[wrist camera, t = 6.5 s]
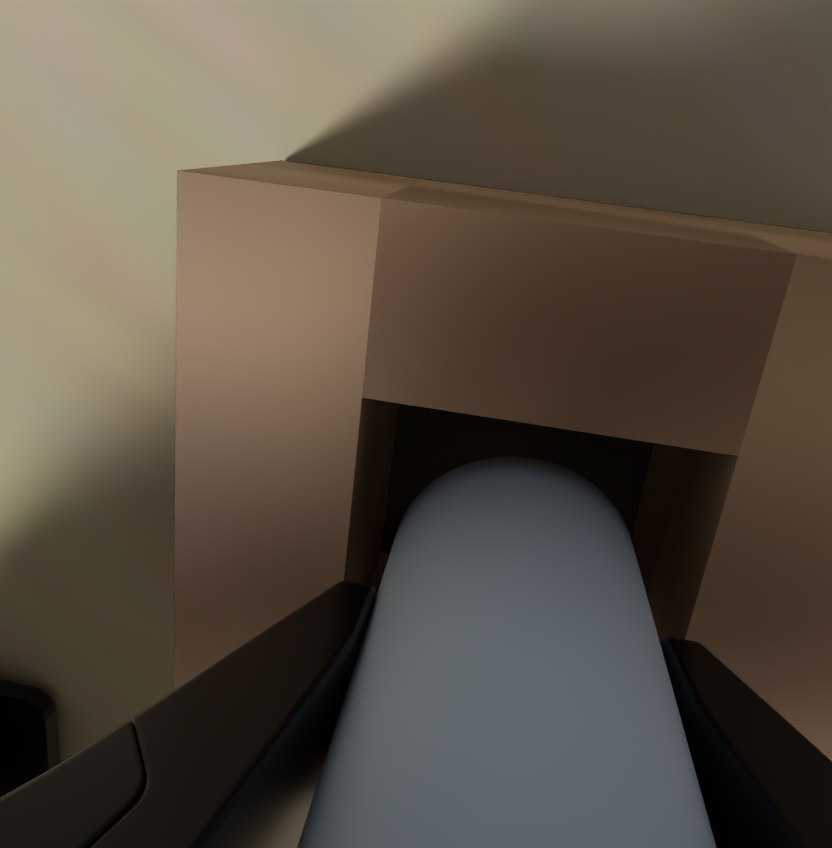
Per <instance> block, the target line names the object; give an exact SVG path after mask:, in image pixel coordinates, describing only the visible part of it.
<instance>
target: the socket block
mask: <svg viewBox="0 0 832 848" xmlns="http://www.w3.org/2000/svg"><path fill="white" fill-rule="evenodd" d="M398 403H400V404H406V405H412V406H419V407H425V408H432V409H438V410H445V411H451V412H457V413H464V414H470V415H477V416H483V417H490V418H496V419H502V420H509V421H515V422H522V423H528V424H535V425H541V426H548V427H554V428H560V429H567V430H573V431H580V432H586V433H593V434H599V435H605V436H612V437H618V438H625V439H631V440H638V441H644V442H650V443H654V447H653V451H652V455H651V459H650V463H649V467H648V471H647V475H646V479H645V484H644V488H643V492H642V496H641V500H640V504H639V508H638V512H637V516H636V520H635V524H634V528H633V532H632V536H631V540H632V544H633V547H634V551H635V554H636V558H637V562H638V565H639V569H640V572H641V576H642V580H643V583H644V587H645V590H646V594H647V598H648V601H649V605H650V609H651V612H652V616H653V619H654V623H655V627H656V630H657V634H658V638H659V641H660V640H661V639H662V638H664V637H673V638H679V639H685V640H691V641H696V642H699V643H701V644H702V645H703V646H704V647H705V648H707V649H708V650H709V651H710V652H711V653H712V654H713V655H714V656H715V657H717V658H718V659H719V660H720V661H721V662H722V663H723V664H724V665H726V666H727V667H728V668H729V669H730V670H731V671H732V672H733V673H734V674H736V675H737V676H738V677H739V678H740V679H741V680H742V681H743V682H744V683H746V684H747V685H748V686H749V687H750V688H751V689H752V690H753V691H754V692H756V693H757V694H758V695H759V696H760V697H761V698H762V699H763V700H765V701H766V702H767V703H768V704H769V705H770V706H771V707H772V708H773V709H775V710H776V711H777V712H778V713H779V714H780V715H781V716H782V717H783V718H785V719H786V720H787V721H788V722H789V723H790V724H791V725H792V726H793V727H795V728H796V729H797V730H798V731H799V732H800V733H801V734H802V735H803V736H805V737H806V738H807V739H808V740H809V741H810V742H811V743H812V744H814V745H815V746H816V747H817V748H818V749H819V750H820V751H821V752H822V753H824V754H825V755H826V756H827V757H828V758H829V759H830V760H831V761H832V233H825V232H818V231H810V230H803V229H795V228H788V227H780V226H773V225H765V224H757V223H750V222H742V221H735V220H727V219H720V218H712V217H705V216H697V215H689V214H682V213H674V212H667V211H659V210H652V209H644V208H637V207H629V206H621V205H614V204H606V203H599V202H591V201H584V200H576V199H569V198H561V197H553V196H546V195H538V194H531V193H523V192H516V191H508V190H501V189H493V188H485V187H478V186H470V185H463V184H455V183H448V182H440V181H433V180H425V179H417V178H410V177H402V176H395V175H387V174H380V173H372V172H365V171H357V170H349V169H342V168H334V167H327V166H319V165H312V164H304V163H297V162H289V161H271V162H261V163H251V164H241V165H230V166H220V167H210V168H200V169H189V170H179V171H177V279H176V420H175V562H174V690H175V689H177V688H178V687H180V686H181V685H183V684H184V683H186V682H187V681H189V680H190V679H192V678H193V677H195V676H196V675H198V674H199V673H201V672H202V671H204V670H205V669H207V668H209V667H210V666H212V665H213V664H215V663H216V662H218V661H219V660H221V659H222V658H224V657H225V656H227V655H228V654H230V653H231V652H233V651H234V650H236V649H237V648H239V647H240V646H242V645H244V644H245V643H247V642H248V641H250V640H251V639H253V638H254V637H256V636H257V635H259V634H260V633H262V632H263V631H265V630H266V629H268V628H269V627H271V626H272V625H274V624H275V623H277V622H279V621H280V620H282V619H283V618H285V617H286V616H288V615H289V614H291V613H292V612H294V611H295V610H297V609H298V608H300V607H301V606H303V605H304V604H306V603H307V602H309V601H311V600H312V599H314V598H315V597H317V596H318V595H320V594H321V593H323V592H324V591H326V590H327V589H329V588H330V587H332V586H333V585H335V584H336V583H338V582H340V581H349V582H355V583H361V584H367V585H371V586H373V587H374V588H375V591H376V596H377V593H378V590H379V587H380V583H381V580H382V577H383V574H384V571H385V568H386V564H387V561H388V558H389V555H390V553H386V552H381V549H382V540H383V532H384V523H385V515H386V506H387V498H388V489H389V480H390V472H391V463H392V455H393V446H394V438H395V429H396V421H397V412H398Z"/></svg>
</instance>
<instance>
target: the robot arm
mask: <svg viewBox="0 0 832 848" xmlns="http://www.w3.org/2000/svg"><path fill="white" fill-rule="evenodd" d="M375 600H376V591H375V588H374V587H373V586H371V585H367V584H361V583H355V582H349V581H340V582H338V583H336V584H335V585H333V586H332V587H330V588H329V589H327V590H326V591H324V592H323V593H321V594H320V595H318V596H317V597H315V598H314V599H312V600H311V601H309V602H307V603H306V604H304V605H303V606H301V607H300V608H298V609H297V610H295V611H294V612H292V613H291V614H289V615H288V616H286V617H285V618H283V619H282V620H280V621H279V622H277V623H275V624H274V625H272V626H271V627H269V628H268V629H266V630H265V631H263V632H262V633H260V634H259V635H257V636H256V637H254V638H253V639H251V640H250V641H248V642H247V643H245V644H244V645H242V646H240V647H239V648H237V649H236V650H234V651H233V652H231V653H230V654H228V655H227V656H225V657H224V658H222V659H221V660H219V661H218V662H216V663H215V664H213V665H212V666H210V667H209V668H207V669H205V670H204V671H202V672H201V673H199V674H198V675H196V676H195V677H193V678H192V679H190V680H189V681H187V682H186V683H184V684H183V685H181V686H180V687H178V688H177V689H175V690H173V691H172V692H170V693H169V694H167V695H166V696H164V697H163V698H161V699H160V700H158V701H157V702H155V703H154V704H152V705H151V706H149V707H148V708H146V709H145V710H143V711H142V712H140V713H138V714H137V715H135V716H134V717H133V718H132V721H131V722H129V721H127V722H124V723H123V724H121V725H120V726H118V727H117V728H115V729H114V730H112V731H111V732H109V733H108V734H106V735H104V736H103V737H101V738H100V739H98V740H97V741H95V742H94V743H92V744H90V745H89V746H87V747H86V748H84V749H82V750H81V751H79V752H78V753H76V754H74V755H73V756H71V757H69V758H68V759H66V760H65V761H63V762H61V763H60V764H59V750H58V734H57V718H56V708H55V704H54V701H53V700H52V699H51V697H50V696H49V695H48V694H47V693H45V692H44V691H43V690H41V689H39V688H36V687H33V686H28V685H23V684H18V683H13V682H7V681H2V680H0V848H297V847H298V843H299V840H300V837H301V834H302V831H303V828H304V824H305V821H306V818H307V815H308V812H309V809H310V805H311V802H312V799H313V796H314V793H315V790H316V786H317V783H318V780H319V777H320V774H321V770H322V767H323V764H324V761H325V758H326V755H327V751H328V748H329V745H330V742H331V739H332V736H333V732H334V729H335V726H336V723H337V720H338V717H339V713H340V710H341V707H342V704H343V701H344V698H345V694H346V691H347V688H348V685H349V682H350V679H351V676H352V673H353V670H354V667H355V664H356V660H357V657H358V654H359V651H360V648H361V645H362V641H363V638H364V635H365V632H366V629H367V625H368V622H369V619H370V616H371V613H372V610H373V606H374V603H375ZM660 645H661V648H662V652H663V656H664V659H665V663H666V667H667V670H668V674H669V677H670V681H671V685H672V688H673V692H674V696H675V699H676V703H677V706H678V710H679V714H680V717H681V721H682V725H683V728H684V732H685V735H686V739H687V743H688V746H689V750H690V753H691V757H692V761H693V764H694V768H695V772H696V775H697V779H698V782H699V786H700V790H701V793H702V797H703V801H704V804H705V808H706V811H707V815H708V819H709V822H710V826H711V830H712V833H713V837H714V840H715V844H716V848H832V761H831V760H830V759H829V758H828V757H827V756H826V755H825V754H824V753H822V752H821V751H820V750H819V749H818V748H817V747H816V746H815V745H814V744H812V743H811V742H810V741H809V740H808V739H807V738H806V737H805V736H803V735H802V734H801V733H800V732H799V731H798V730H797V729H796V728H795V727H793V726H792V725H791V724H790V723H789V722H788V721H787V720H786V719H785V718H783V717H782V716H781V715H780V714H779V713H778V712H777V711H776V710H775V709H773V708H772V707H771V706H770V705H769V704H768V703H767V702H766V701H765V700H763V699H762V698H761V697H760V696H759V695H758V694H757V693H756V692H754V691H753V690H752V689H751V688H750V687H749V686H748V685H747V684H746V683H744V682H743V681H742V680H741V679H740V678H739V677H738V676H737V675H736V674H734V673H733V672H732V671H731V670H730V669H729V668H728V667H727V666H726V665H724V664H723V663H722V662H721V661H720V660H719V659H718V658H717V657H715V656H714V655H713V654H712V653H711V652H710V651H709V650H708V649H707V648H705V647H704V646H703V645H702V644H701V643H699V642H696V641H691V640H685V639H679V638H673V637H664V638H662V639H661V640H660ZM27 710H28V711H29V712H30V713H29V712H28V711H27Z"/></svg>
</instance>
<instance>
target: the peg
mask: <svg viewBox="0 0 832 848" xmlns="http://www.w3.org/2000/svg"><path fill="white" fill-rule="evenodd" d="M297 848H716V844H715V840H714V837H713V833H712V830H711V826H710V822H709V819H708V815H707V811H706V808H705V804H704V801H703V797H702V793H701V790H700V786H699V782H698V779H697V775H696V772H695V768H694V764H693V761H692V757H691V753H690V750H689V746H688V743H687V739H686V735H685V732H684V728H683V725H682V721H681V717H680V714H679V710H678V706H677V703H676V699H675V696H674V692H673V688H672V685H671V681H670V677H669V674H668V670H667V667H666V663H665V659H664V656H663V652H662V648H661V645H660V641H659V638H658V634H657V630H656V627H655V623H654V619H653V616H652V612H651V609H650V605H649V601H648V598H647V594H646V590H645V587H644V583H643V580H642V576H641V572H640V569H639V565H638V562H637V558H636V554H635V551H634V547H633V544H632V540H631V537H630V533H629V531H628V529H627V527H626V524H625V522H624V520H623V518H622V517H621V515H620V514H619V512H618V511H617V509H616V507H615V506H614V505H613V504H612V503H611V501H610V500H609V499H608V498H607V497H606V496H605V495H604V494H603V493H602V492H601V491H600V490H599V489H598V488H597V487H595V486H594V485H593V484H592V483H590V482H589V481H587V480H586V479H584V478H583V477H581V476H580V475H578V474H576V473H574V472H572V471H570V470H568V469H566V468H564V467H561V466H558V465H556V464H553V463H550V462H546V461H542V460H537V459H532V458H523V457H496V458H489V459H482V460H479V461H475V462H471V463H468V464H465V465H462V466H460V467H458V468H455V469H453V470H451V471H449V472H447V473H446V474H444V475H442V476H440V477H439V478H437V479H436V480H435V481H433V482H432V483H431V484H429V485H428V486H427V487H426V488H425V489H424V490H423V491H422V492H421V493H420V494H419V495H418V496H417V497H416V498H415V499H414V501H413V502H412V503H411V505H410V506H409V507H408V509H407V510H406V512H405V514H404V516H403V518H402V520H401V522H400V525H399V527H398V530H397V533H396V536H395V539H394V542H393V545H392V548H391V552H390V555H389V558H388V561H387V564H386V568H385V571H384V574H383V577H382V580H381V583H380V587H379V590H378V593H377V596H376V600H375V603H374V606H373V610H372V613H371V616H370V619H369V622H368V625H367V629H366V632H365V635H364V638H363V641H362V645H361V648H360V651H359V654H358V657H357V660H356V664H355V667H354V670H353V673H352V676H351V679H350V682H349V685H348V688H347V691H346V694H345V698H344V701H343V704H342V707H341V710H340V713H339V717H338V720H337V723H336V726H335V729H334V732H333V736H332V739H331V742H330V745H329V748H328V751H327V755H326V758H325V761H324V764H323V767H322V770H321V774H320V777H319V780H318V783H317V786H316V790H315V793H314V796H313V799H312V802H311V805H310V809H309V812H308V815H307V818H306V821H305V824H304V828H303V831H302V834H301V837H300V840H299V843H298V847H297Z"/></svg>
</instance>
